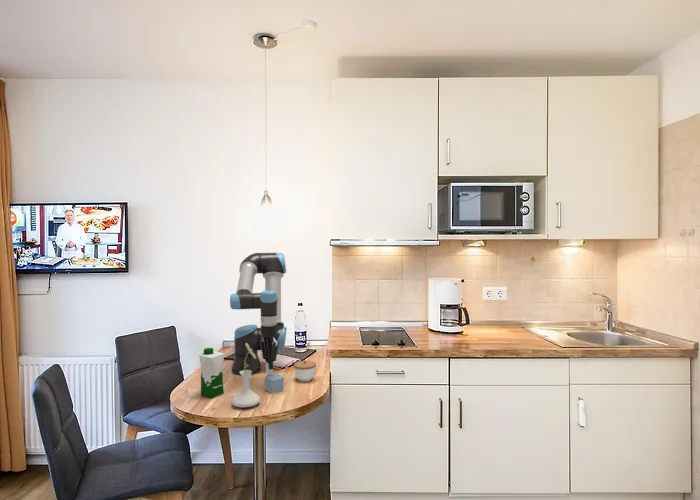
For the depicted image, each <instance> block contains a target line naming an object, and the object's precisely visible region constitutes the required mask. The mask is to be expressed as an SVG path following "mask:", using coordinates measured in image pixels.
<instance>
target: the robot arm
mask: <svg viewBox="0 0 700 500" xmlns="http://www.w3.org/2000/svg"><path fill="white" fill-rule="evenodd" d="M239 273H240V274H239V279H238V281H237V283H238V284H237V287H236V292H235V293H231V294H230V298H229V305H230V309H232V310H239V311H240V310H257V309H258V310H259V309H260V327H259V326H258V325H257V324H247V325H243V326H239V327H237V328H236V329H234V330H235V331H234V337H233V339H234V358H233V362H232V365H231V369H230V370H231V374H233V375H239V376H241V374H240V373H239V372H240V371H242V370H245V368H244V367H245V366H246V365H245V366H244V361H245V362H246V364H247V365H249V366H248V367H246V370H251V371H252V372H251V374H250V375H253V374H257V373H259V372H260V371H262V364H261V360H260V358H259V355H258V354H259V353H258V351H261V356H262V360H264V362H265V376H267V375H271V374H274V362H276V361H277V356H278V350H283V349H284V348H285V344H286V339H287V328H288V327H287V326H285V323H284V322H283V321H282V279H283V277H284V275H285V274H286V273H287V266H286V259H285V254H284V253H282V252H255V253H252V254H249V255H247V256H246V257H245V258H244V259H243V260H242V261H241V263H240V264H239ZM257 274H262V278H264V281H265V282H264V284H265V287H264V290H263V291H261V292H253V291H254V290H253V289H254V284H255V283H254V282H255V276H256V275H257ZM246 343H247V344H248V345H249V347H250V349H252V352H253V353H254V354H255V355H256V359H254V358H253V356H252V355H251V354H250V353H248V349H247V347H246V345H245V344H246ZM247 353H248V355H247ZM246 355H247V357H246ZM245 358H246V360H245Z"/></svg>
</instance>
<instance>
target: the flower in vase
mask: <svg viewBox="0 0 700 500" xmlns="http://www.w3.org/2000/svg"><path fill="white" fill-rule="evenodd" d="M245 345H246V347H247V349H248V353H250V354H251V355H252V356H253V358H254V359H256V355H255V354H254V353H253V352H252V349H250V347H249V345H248V344H247V343H246V344H245ZM248 353H247V355H248ZM247 355H246V357H247ZM245 360H246V358H245ZM245 365H246V366H245ZM244 366H245V367H244V368H245V370H242V371H240V372H239V373H240V374H241V375H240V376H241V377H242V378H241V379H242V389H241V391H240V392H238V393H237V394H236V395H235V396H234V397H233V399H232V401H231V404H232V406H234V407H237V408H251V407H254V406H256V405H258V404H259V402H260V401H261V398H260V396H259V395H258V394H257V393H255V392H254V391H253V390H251V389H250V385H249V383H250V382H249V380H250V376H251V375H252V374H251V372H252V371H251V370H246V367H248V366H249V365H247V364H246V362H245V361H244Z"/></svg>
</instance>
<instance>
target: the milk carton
mask: <svg viewBox="0 0 700 500" xmlns="http://www.w3.org/2000/svg"><path fill="white" fill-rule="evenodd" d="M224 357H225V353H223V352H220V351H214V348H213V347H206V348H203V353H200V354H198V358H199V363H200V396H202V397H205V398H209V399H212V398H216V397H218V396H220V395H224V393H225V392H224V391H225V390H224V379H223V378H224V377H223V374H224V373H223V366H224V365H223V362H224Z"/></svg>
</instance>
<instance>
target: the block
mask: <svg viewBox="0 0 700 500" xmlns="http://www.w3.org/2000/svg"><path fill="white" fill-rule="evenodd" d="M264 378H265V379H264V389H265V390H266V391H267V392H269V393H271V394H276V393H278V392H281V391H283V390H284V384H285V383H284V382H285V377H284V376H282V375H280V374H279V373H277V372H273V374H271V375H267V376H266V375H265V377H264Z"/></svg>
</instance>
